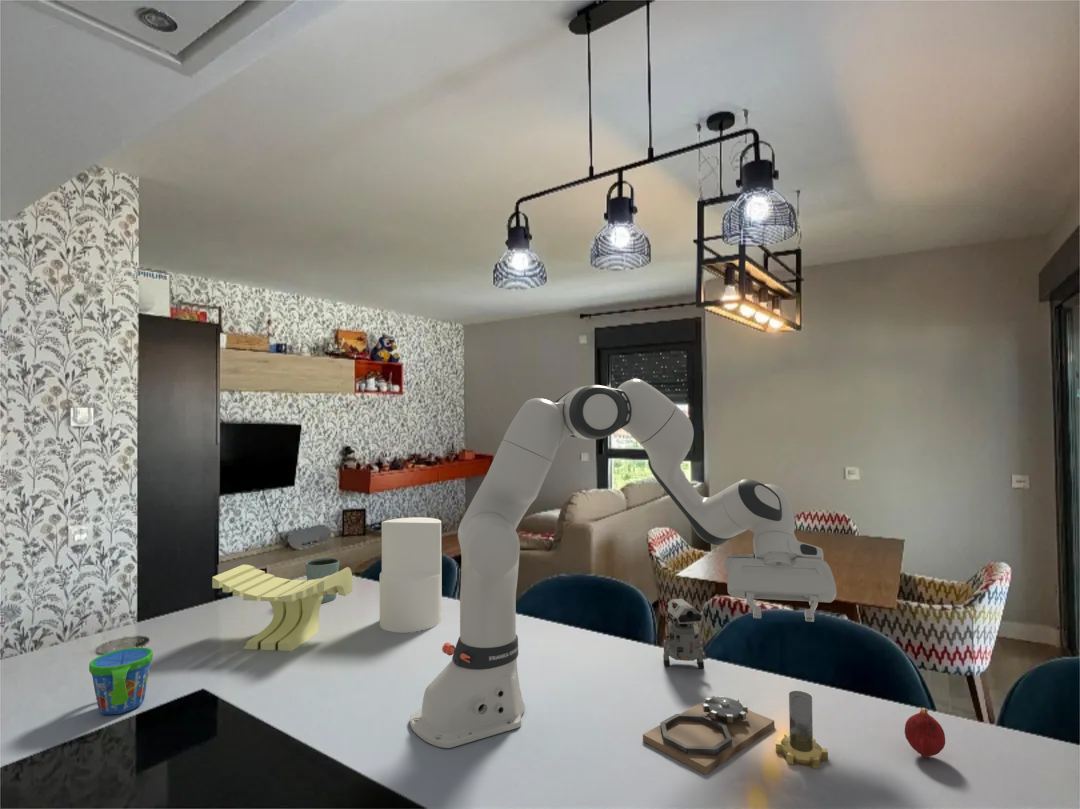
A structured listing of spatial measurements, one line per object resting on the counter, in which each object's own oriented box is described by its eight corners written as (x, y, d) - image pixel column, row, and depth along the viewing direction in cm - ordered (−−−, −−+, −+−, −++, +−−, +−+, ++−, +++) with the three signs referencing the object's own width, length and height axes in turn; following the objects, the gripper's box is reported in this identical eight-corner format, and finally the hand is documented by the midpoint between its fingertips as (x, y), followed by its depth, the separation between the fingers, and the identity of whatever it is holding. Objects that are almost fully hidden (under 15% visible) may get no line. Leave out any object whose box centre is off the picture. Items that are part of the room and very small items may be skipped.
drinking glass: (299, 603, 186) (299, 564, 187) (316, 593, 196) (316, 557, 197) (329, 604, 185) (329, 565, 185) (345, 594, 195) (345, 557, 195)
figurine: (665, 678, 131) (664, 609, 132) (663, 656, 143) (662, 594, 143) (708, 680, 130) (707, 611, 130) (702, 659, 141) (701, 595, 142)
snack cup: (98, 696, 125) (98, 647, 125) (157, 686, 129) (158, 639, 130) (79, 732, 111) (79, 677, 111) (146, 718, 115) (146, 666, 116)
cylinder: (393, 610, 179) (393, 516, 179) (449, 612, 176) (448, 517, 177) (369, 631, 161) (368, 527, 162) (430, 633, 159) (430, 528, 160)
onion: (952, 768, 97) (951, 719, 97) (913, 764, 98) (912, 715, 98) (936, 749, 103) (935, 702, 103) (899, 745, 104) (898, 699, 104)
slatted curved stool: (352, 629, 163) (352, 564, 163) (324, 652, 147) (324, 580, 148) (250, 625, 167) (250, 561, 167) (212, 647, 151) (212, 577, 151)
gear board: (705, 774, 96) (705, 760, 96) (642, 741, 106) (642, 728, 106) (774, 727, 110) (774, 715, 110) (713, 701, 120) (713, 690, 120)
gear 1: (732, 734, 106) (732, 716, 106) (694, 717, 112) (694, 700, 112) (756, 719, 111) (755, 701, 111) (718, 703, 117) (718, 687, 117)
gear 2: (812, 774, 96) (811, 711, 96) (768, 754, 102) (767, 695, 102) (834, 755, 101) (833, 696, 101) (791, 737, 107) (790, 681, 107)
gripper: (724, 545, 125) (726, 607, 115) (830, 548, 119) (842, 614, 110) (724, 561, 129) (727, 622, 120) (827, 565, 123) (839, 629, 114)
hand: (783, 618), depth 115 cm, fingers open, 8 cm apart
